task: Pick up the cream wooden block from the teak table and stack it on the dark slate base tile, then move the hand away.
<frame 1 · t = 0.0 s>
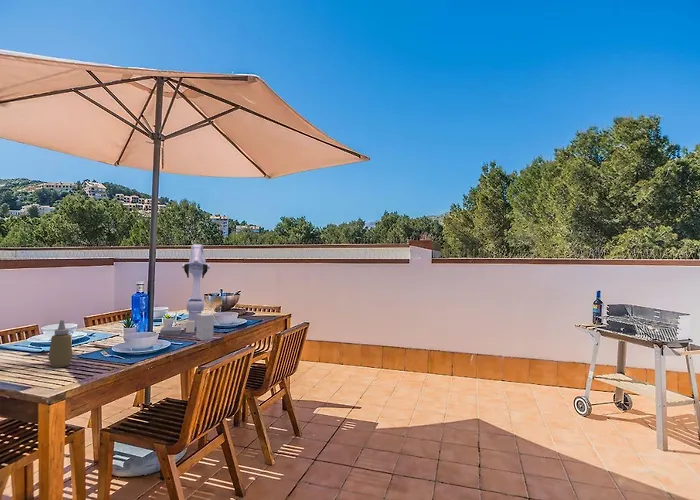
hand: (195, 276, 247), 32 cm above the table, tool tilted 50°, fingers open, 7 cm apart
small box: (204, 339, 240), on the table
cream block: (190, 331, 258), on the table
squeeze bottle: (60, 366, 178), on the table
slate base: (170, 333, 251), on the table
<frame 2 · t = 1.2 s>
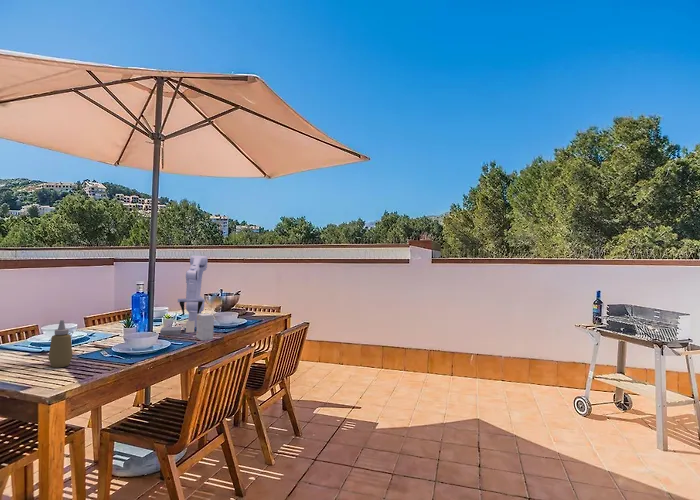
hand: (190, 315, 257), 9 cm above the table, tool pointing down, fingers open, 7 cm apart
nothing on the table moved.
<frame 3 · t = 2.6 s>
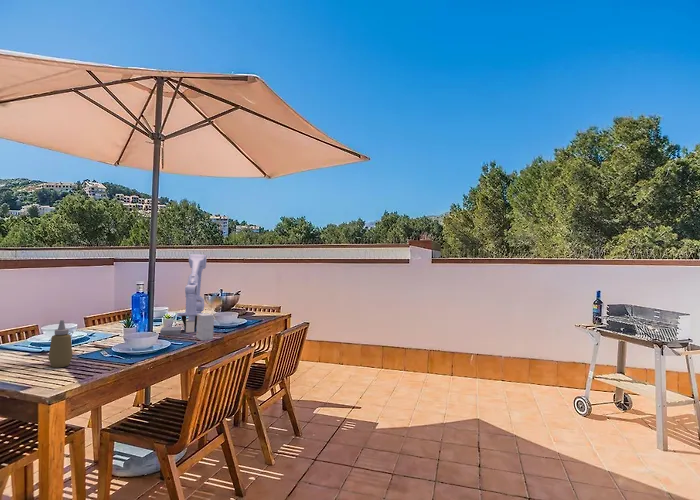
hand: (190, 329, 258), 1 cm above the table, tool pointing down, fingers closed on cream block, 4 cm apart
cream block: (190, 331, 258), on the table, touching gripper
everything else where it was.
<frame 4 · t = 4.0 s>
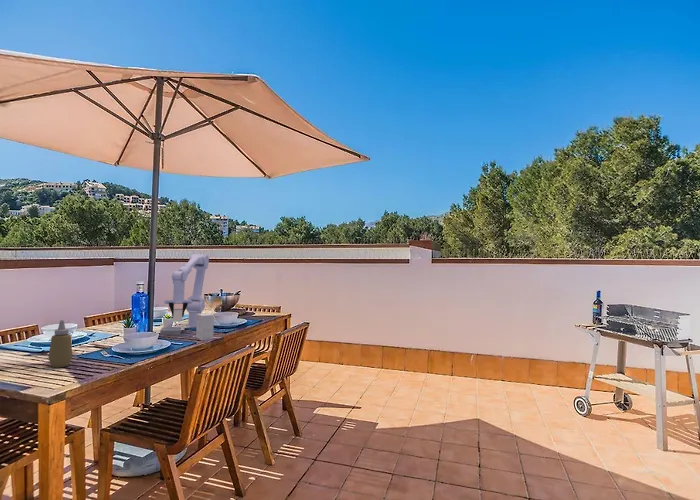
hand: (177, 316, 253), 9 cm above the table, tool pointing down, fingers closed on cream block, 4 cm apart
cream block: (177, 320, 253), point 7 cm above the table, touching gripper
everything else where it was.
when the fingers open (5 cm above the table, at t = 5.5 s): cream block stays where it is, resting on slate base.
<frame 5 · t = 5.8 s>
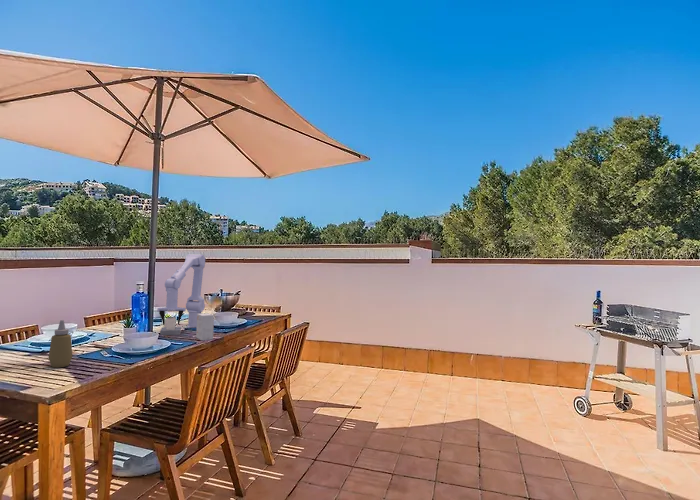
hand: (171, 324, 251), 5 cm above the table, tool pointing down, fingers open, 7 cm apart
cream block: (170, 328, 251), point 2 cm above the table, touching slate base
everything else where it was.
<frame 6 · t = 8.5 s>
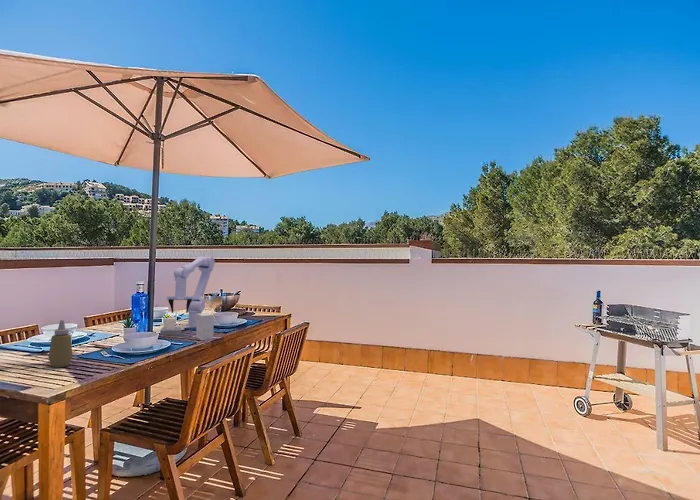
hand: (179, 312, 258), 10 cm above the table, tool pointing down, fingers open, 7 cm apart
nothing on the table moved.
at the end: cream block inside the target area on the slate base (0.2 cm from its centre), point 2.5 cm above the slate base's base; cream block tilted 0°; the gripper is holding nothing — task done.
